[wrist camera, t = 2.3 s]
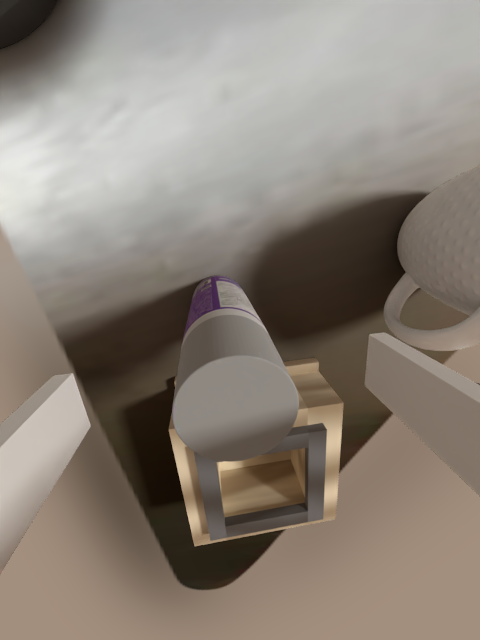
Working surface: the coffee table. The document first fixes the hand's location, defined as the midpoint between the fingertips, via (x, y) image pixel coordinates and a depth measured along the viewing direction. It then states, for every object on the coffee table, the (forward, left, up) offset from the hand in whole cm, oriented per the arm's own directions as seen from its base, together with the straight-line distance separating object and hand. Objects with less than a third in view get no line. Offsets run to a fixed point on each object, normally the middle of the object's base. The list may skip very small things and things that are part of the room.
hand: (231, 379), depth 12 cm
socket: (+15, +2, -12) cm, 19 cm away
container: (0, 0, -13) cm, 13 cm away
